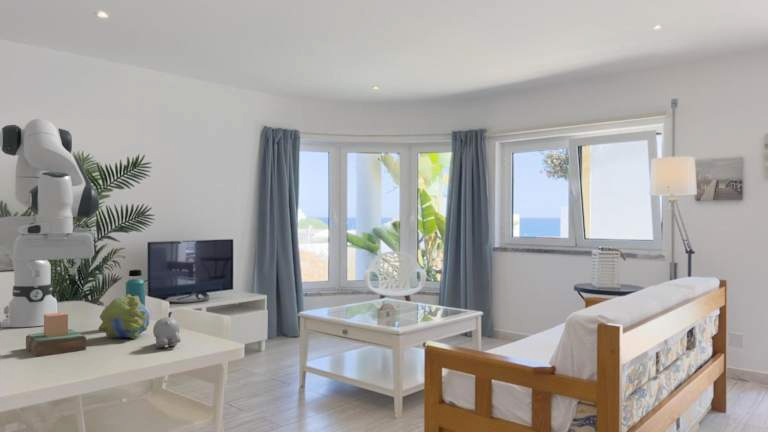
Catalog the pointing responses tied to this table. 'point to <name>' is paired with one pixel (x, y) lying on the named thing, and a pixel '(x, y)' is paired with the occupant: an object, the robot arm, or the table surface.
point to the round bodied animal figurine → (166, 332)
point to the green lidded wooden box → (55, 343)
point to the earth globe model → (125, 318)
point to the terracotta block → (55, 324)
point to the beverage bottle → (136, 286)
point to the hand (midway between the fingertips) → (54, 275)
